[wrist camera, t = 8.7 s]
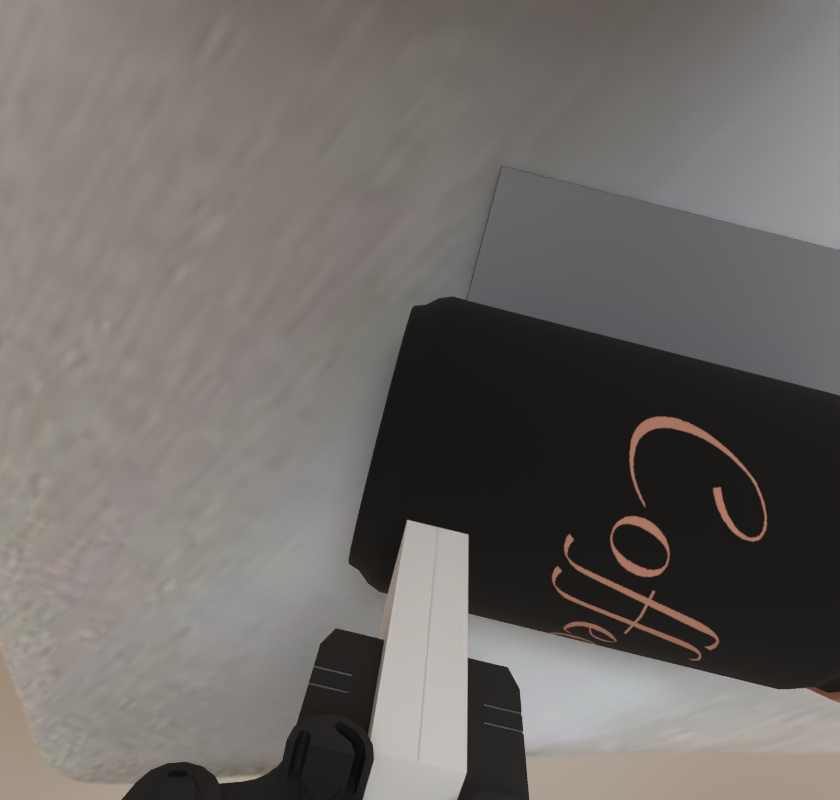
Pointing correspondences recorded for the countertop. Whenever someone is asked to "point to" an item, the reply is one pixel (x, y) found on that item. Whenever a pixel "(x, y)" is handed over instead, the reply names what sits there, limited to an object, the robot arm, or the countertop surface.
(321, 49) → the countertop surface
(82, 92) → the countertop surface
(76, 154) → the countertop surface
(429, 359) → the coffee jar
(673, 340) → the mat
